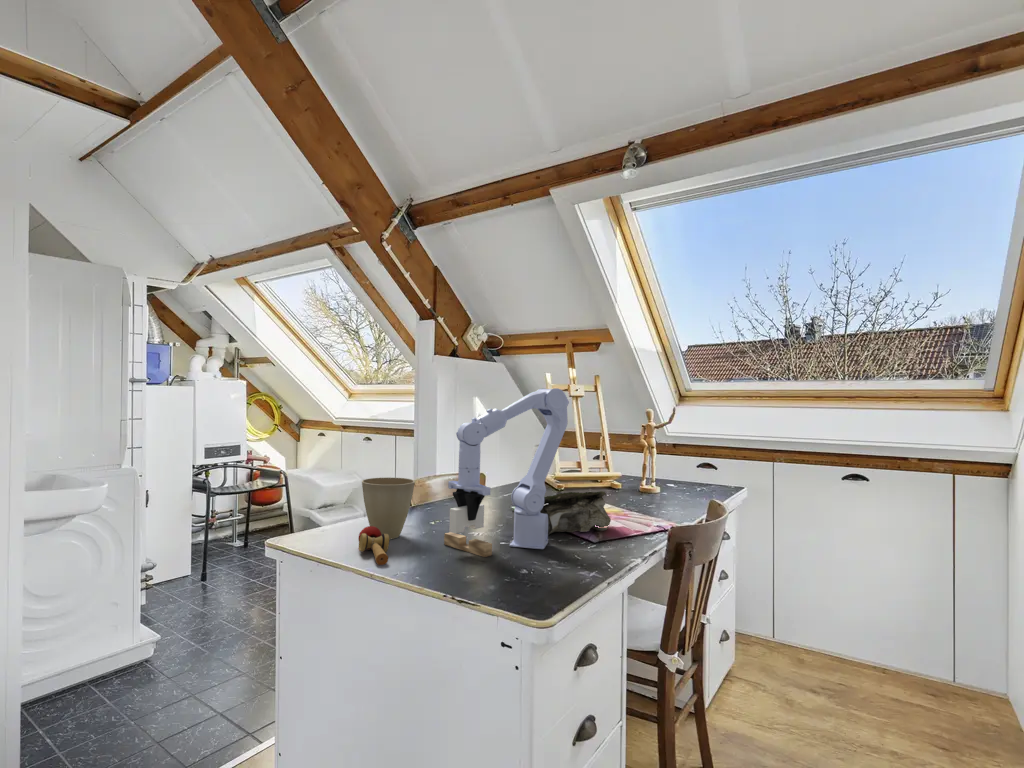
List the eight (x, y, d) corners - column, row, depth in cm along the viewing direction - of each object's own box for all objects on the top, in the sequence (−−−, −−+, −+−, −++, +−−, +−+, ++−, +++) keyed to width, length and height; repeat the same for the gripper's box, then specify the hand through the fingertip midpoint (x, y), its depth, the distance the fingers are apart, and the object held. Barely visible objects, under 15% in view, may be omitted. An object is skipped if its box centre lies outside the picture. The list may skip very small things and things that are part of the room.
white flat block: (483, 527, 149) (484, 504, 149) (455, 533, 142) (456, 510, 142) (477, 525, 151) (477, 503, 151) (449, 531, 144) (449, 508, 144)
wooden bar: (491, 555, 142) (492, 543, 142) (484, 557, 140) (485, 545, 140) (451, 542, 153) (451, 532, 153) (444, 544, 151) (444, 533, 151)
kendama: (400, 568, 134) (384, 539, 150) (397, 544, 133) (381, 518, 149) (368, 577, 131) (355, 547, 147) (365, 553, 130) (352, 525, 146)
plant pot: (407, 544, 151) (409, 485, 151) (353, 542, 151) (355, 484, 151) (417, 530, 166) (419, 477, 166) (368, 529, 166) (370, 476, 166)
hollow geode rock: (531, 551, 163) (547, 522, 154) (517, 515, 171) (532, 485, 162) (610, 540, 175) (630, 512, 165) (593, 507, 183) (612, 478, 174)
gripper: (440, 466, 149) (438, 516, 149) (477, 472, 139) (475, 526, 139) (459, 464, 154) (458, 513, 154) (496, 469, 144) (495, 522, 144)
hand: (467, 519), depth 147 cm, fingers closed on white flat block, 2 cm apart
